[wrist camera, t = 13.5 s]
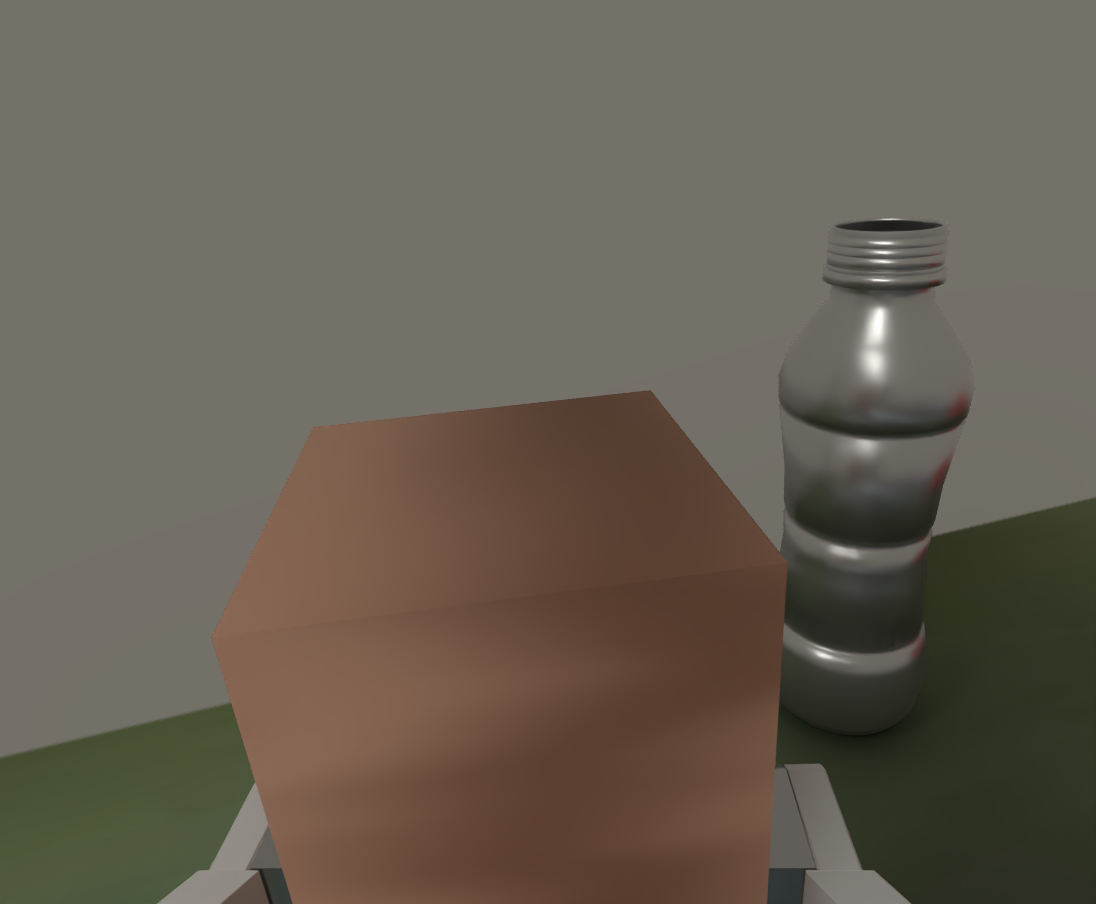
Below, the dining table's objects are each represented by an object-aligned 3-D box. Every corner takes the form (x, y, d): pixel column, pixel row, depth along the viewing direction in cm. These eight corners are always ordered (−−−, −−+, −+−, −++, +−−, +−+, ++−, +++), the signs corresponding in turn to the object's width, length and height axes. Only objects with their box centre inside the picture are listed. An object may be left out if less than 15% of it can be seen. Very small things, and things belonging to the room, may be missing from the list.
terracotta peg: (431, 1356, 10) (211, 637, 6) (436, 1012, 14) (313, 427, 10) (743, 1291, 11) (787, 562, 6) (662, 972, 15) (650, 390, 10)
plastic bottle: (850, 638, 36) (900, 207, 28) (955, 736, 30) (1056, 224, 22) (729, 668, 35) (747, 224, 27) (814, 778, 29) (868, 246, 21)
